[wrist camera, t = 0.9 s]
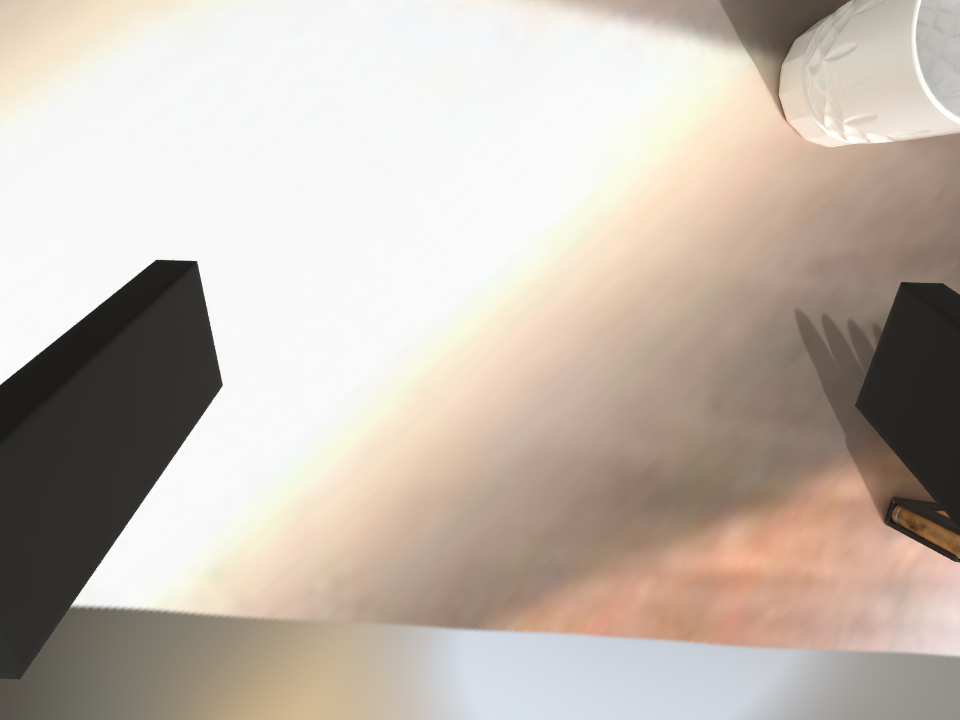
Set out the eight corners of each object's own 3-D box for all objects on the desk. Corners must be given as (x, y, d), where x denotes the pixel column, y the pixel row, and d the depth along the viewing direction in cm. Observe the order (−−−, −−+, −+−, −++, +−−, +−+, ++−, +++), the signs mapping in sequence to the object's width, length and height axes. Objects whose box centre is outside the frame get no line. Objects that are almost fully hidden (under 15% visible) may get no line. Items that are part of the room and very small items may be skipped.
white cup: (812, 186, 37) (965, 167, 27) (741, 66, 35) (878, 1, 26) (920, 100, 37) (1111, 51, 27) (854, -24, 35) (1035, -124, 26)
